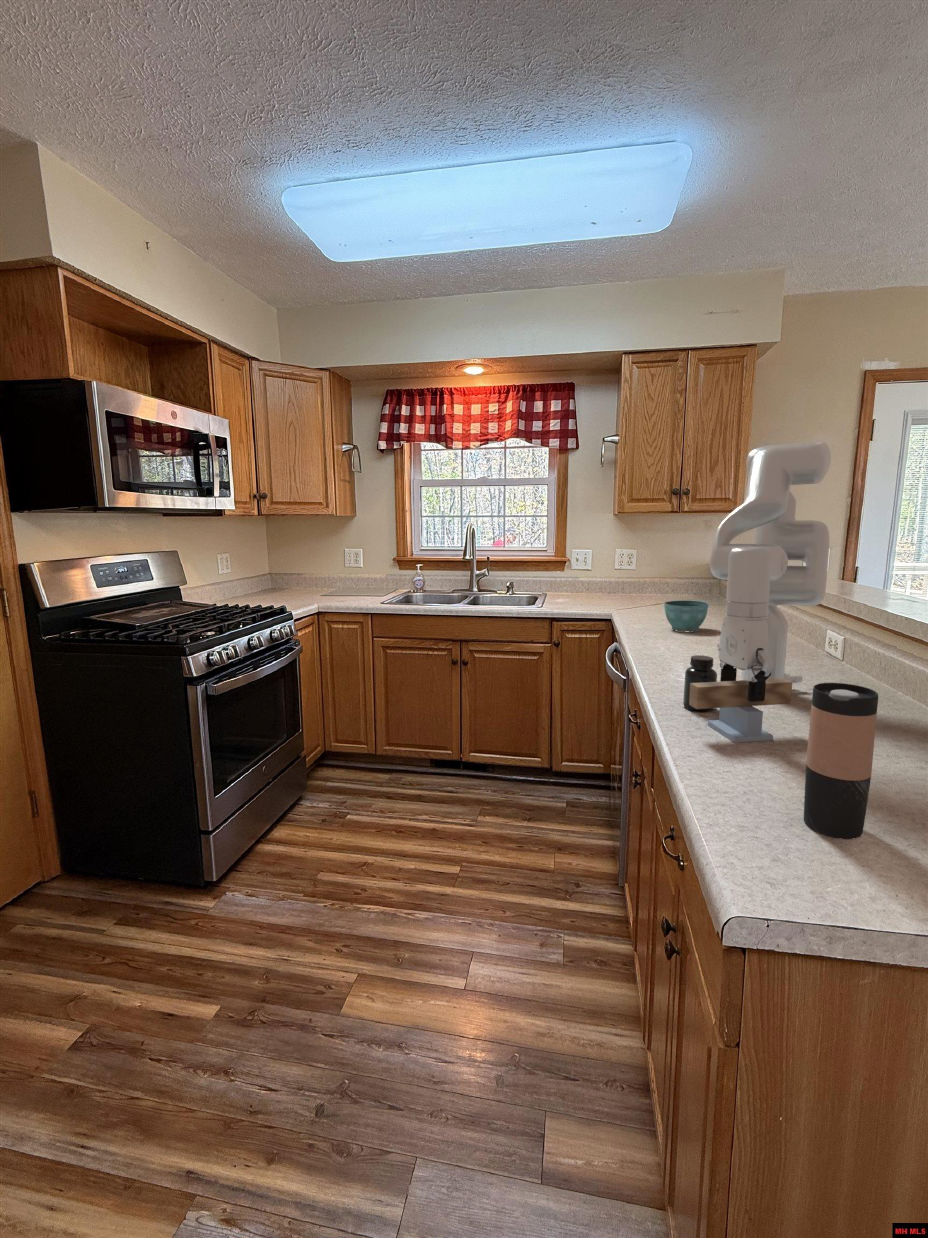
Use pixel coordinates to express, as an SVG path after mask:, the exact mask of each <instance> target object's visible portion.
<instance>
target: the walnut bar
mask: <svg viewBox="0 0 928 1238" xmlns="http://www.w3.org/2000/svg"><path fill="white" fill-rule="evenodd" d="M740 680H741V679H740ZM740 680H736V681H722V682H720V681H717V682H703V683H690V697H689V705H691V706H692V707H694V708H695V709H709V708H714V709H720V708H726V707H743V706H753V707H757V706H758V707H759V706H760V707H761V706H774V705H776V706H777V705H778V706H779V705H791V703H792V702H791V701H792V691H793V690H792V689H793V683H792V682H791V681H788V680H786V679H783V678H778V679H768V681H767V682H766V688H765V700H764V701H756V702H750V701H748V685H749V681H751V680H741V681H740Z"/></svg>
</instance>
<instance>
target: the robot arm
mask: <svg viewBox="0 0 928 1238" xmlns="http://www.w3.org/2000/svg"><path fill="white" fill-rule="evenodd" d="M830 449H831V448H830V447H829V445H828V444H827V443H826V442H825V441H808V442H799V443H782V444H772V445H771V444H770V445H764V446H760V447H757V448H754V449H753V450H751V451H750V452H749V453H748V455H747V457H746V462H745V463H746V472H747V477H748V479H747V482H746V483H747V484H746V487H745V488H746V489H745V493H744V500H743V503H742V504H741V505H740V506H738V507H736V508H735V509H734V510H733V511H731V513H729V514H728V515H727V516H726V517H725V518H723V520H722V522H721V523H720V524H719V525H718V527H717V529H716V531H715V534H714V538H713V542H712V547H711V552H710V556H709V569H710V573H711V575H713V576H714V578H715V579H719V580H726V581H727V582H726V599H725V614H724V616H723V620H722V624H721V628H720V629H721V630H720V635H719V643H718V644H717V650H718V659H719V661H720V663H719V667H720V677H719V678H720V679H719V682H722V681H737V671H738V670H737V669H739V670H740V671H741V679H740V680H739V681H741V680H751V681H749V685H748V701H750V702H756V701H764V700H765V688H766V682H767V681H768V679H778V678H783V679H786V680H788V681H791V682H792V684H801V683H803V676H802V675H801V674H797V675H791V674H790V673H785V671H786V656H787V643H788V631H789V622H788V620H787V617H786V616H785V614H783V612H782V611H781V610H780V608H779V607H778V606H795V607H796V606H798V607H799V606H800V607H815V606H819V605H820V604H822V602H823V600H824V598H825V595H826V588H827V579H828V578H827V576H828V568H829V567H828V565H829V552H830V531H829V527H828V526H827V524H825V523H824V522H822V521H820V520H810V519H808V520H805V519H804V520H803V519H802V520H797V519H796V509H797V500H796V497H795V496H794V494H793V493H792V492H791V490H790V488H791V486H796V485H797V486H799V485H801V486H803V485H816V484H820V483H821V482H822V481H823V480H824V478H825V477H826V476H827V473H828V472H829V469H830V466H831V458H832V456H831V450H830ZM753 529H754V532H753V533H754V534H753V535H754V538H753V543H732V541H733V540H734V539H735V538H736V537H738V536H739V535H741V534H743V533H745V532H747V531H751V530H753ZM789 561H799V562H800V561H802V562H804V563H805V565H788V562H789Z"/></svg>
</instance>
